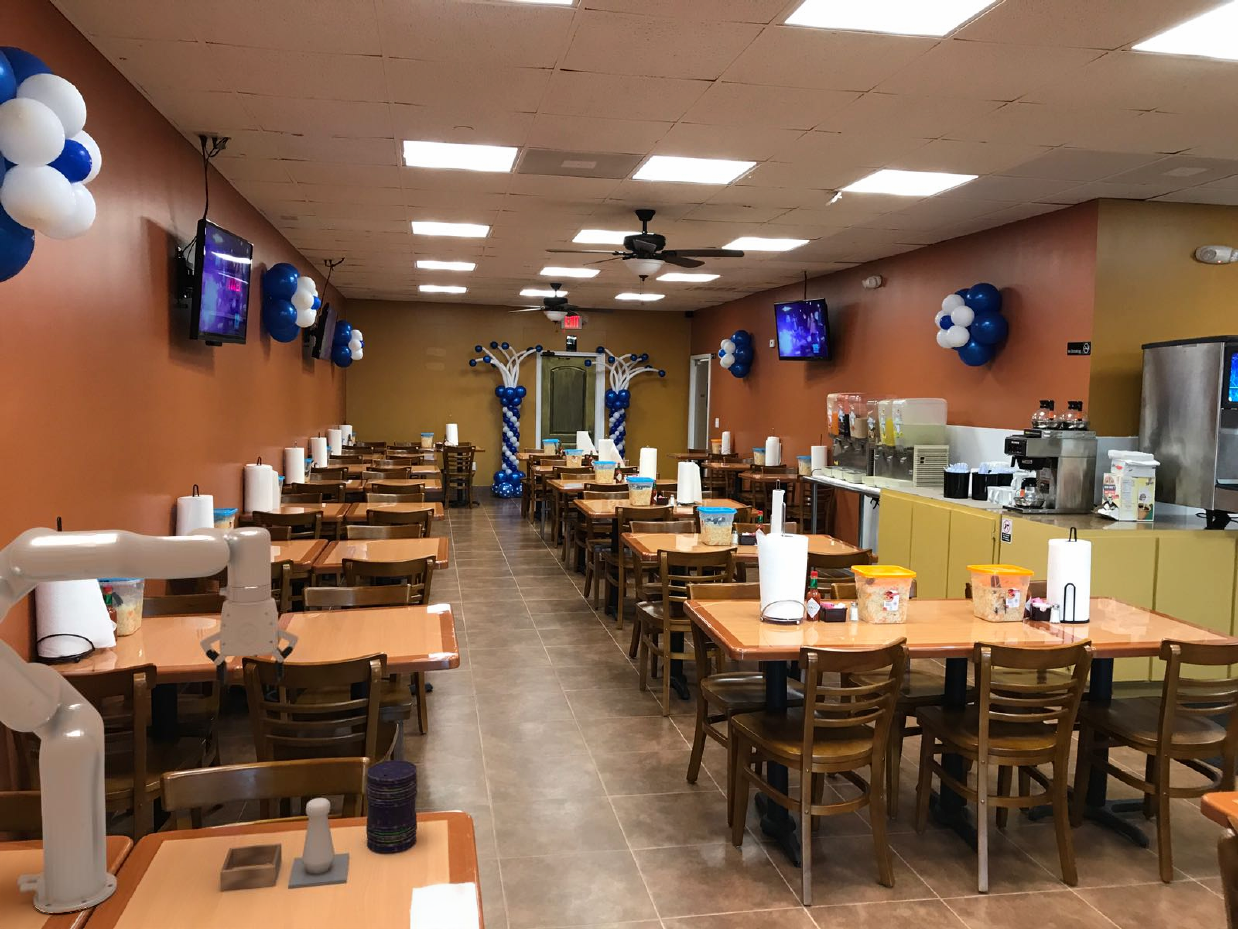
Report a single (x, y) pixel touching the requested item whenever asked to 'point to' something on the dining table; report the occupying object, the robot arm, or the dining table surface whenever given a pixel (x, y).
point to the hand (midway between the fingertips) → (250, 682)
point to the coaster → (331, 876)
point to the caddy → (251, 875)
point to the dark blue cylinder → (391, 806)
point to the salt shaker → (318, 837)
